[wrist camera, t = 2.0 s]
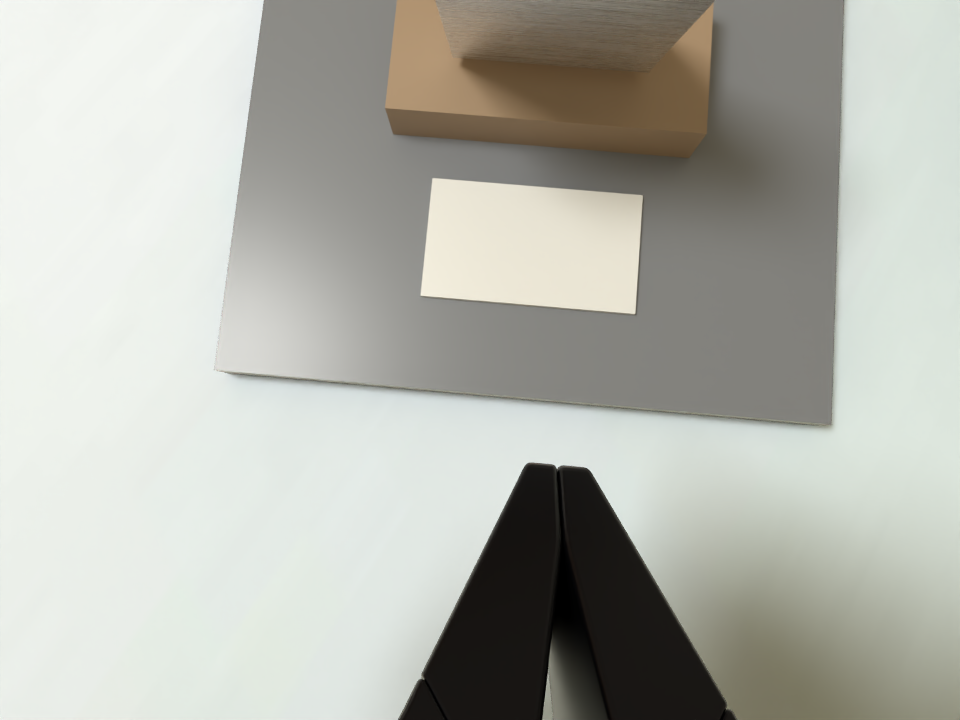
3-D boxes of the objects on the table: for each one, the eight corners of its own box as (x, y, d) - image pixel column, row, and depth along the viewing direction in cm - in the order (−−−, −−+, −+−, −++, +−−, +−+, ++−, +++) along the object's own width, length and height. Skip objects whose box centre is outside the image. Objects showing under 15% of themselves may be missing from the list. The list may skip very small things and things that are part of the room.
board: (815, 425, 22) (863, 423, 19) (225, 372, 22) (189, 364, 20) (831, -68, 24) (876, -134, 21) (289, -108, 24) (264, -178, 22)
